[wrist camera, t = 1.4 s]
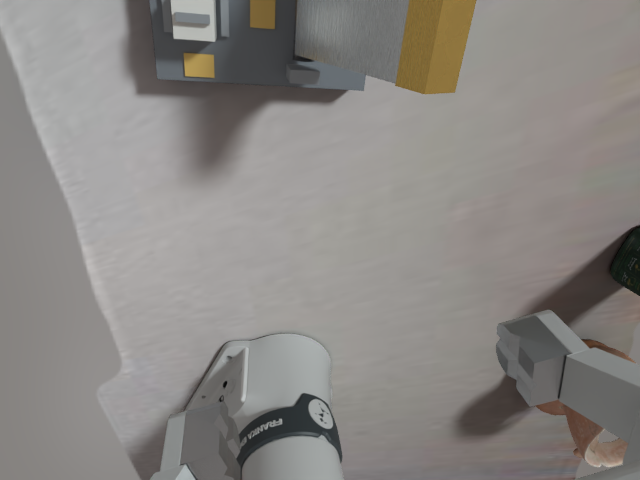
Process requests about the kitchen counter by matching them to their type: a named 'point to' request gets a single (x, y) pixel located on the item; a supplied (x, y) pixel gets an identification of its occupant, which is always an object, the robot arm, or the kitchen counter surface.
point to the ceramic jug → (590, 427)
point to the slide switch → (194, 19)
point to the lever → (387, 39)
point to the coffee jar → (628, 263)
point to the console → (243, 49)
